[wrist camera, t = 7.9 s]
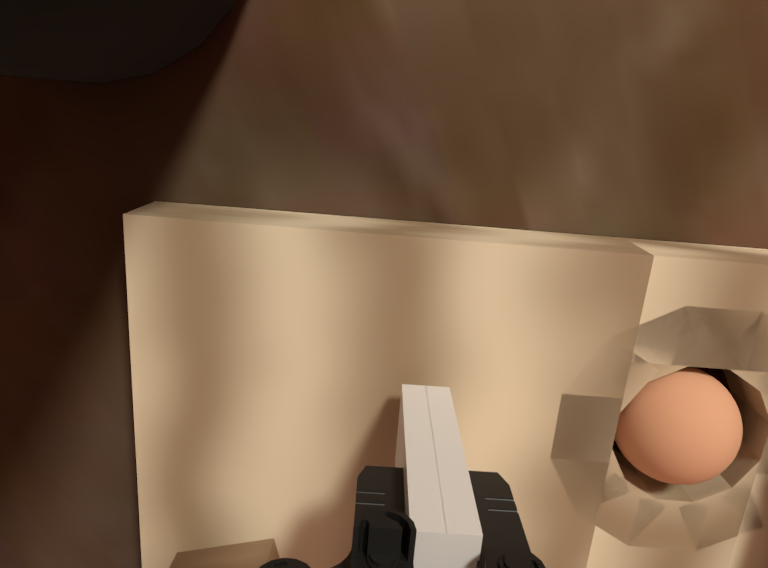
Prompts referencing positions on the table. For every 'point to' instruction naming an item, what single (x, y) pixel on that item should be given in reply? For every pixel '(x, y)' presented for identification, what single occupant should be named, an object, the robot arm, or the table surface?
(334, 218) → the board
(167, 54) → the coffee jar
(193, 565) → the walnut cube
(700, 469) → the ball
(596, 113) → the table surface
